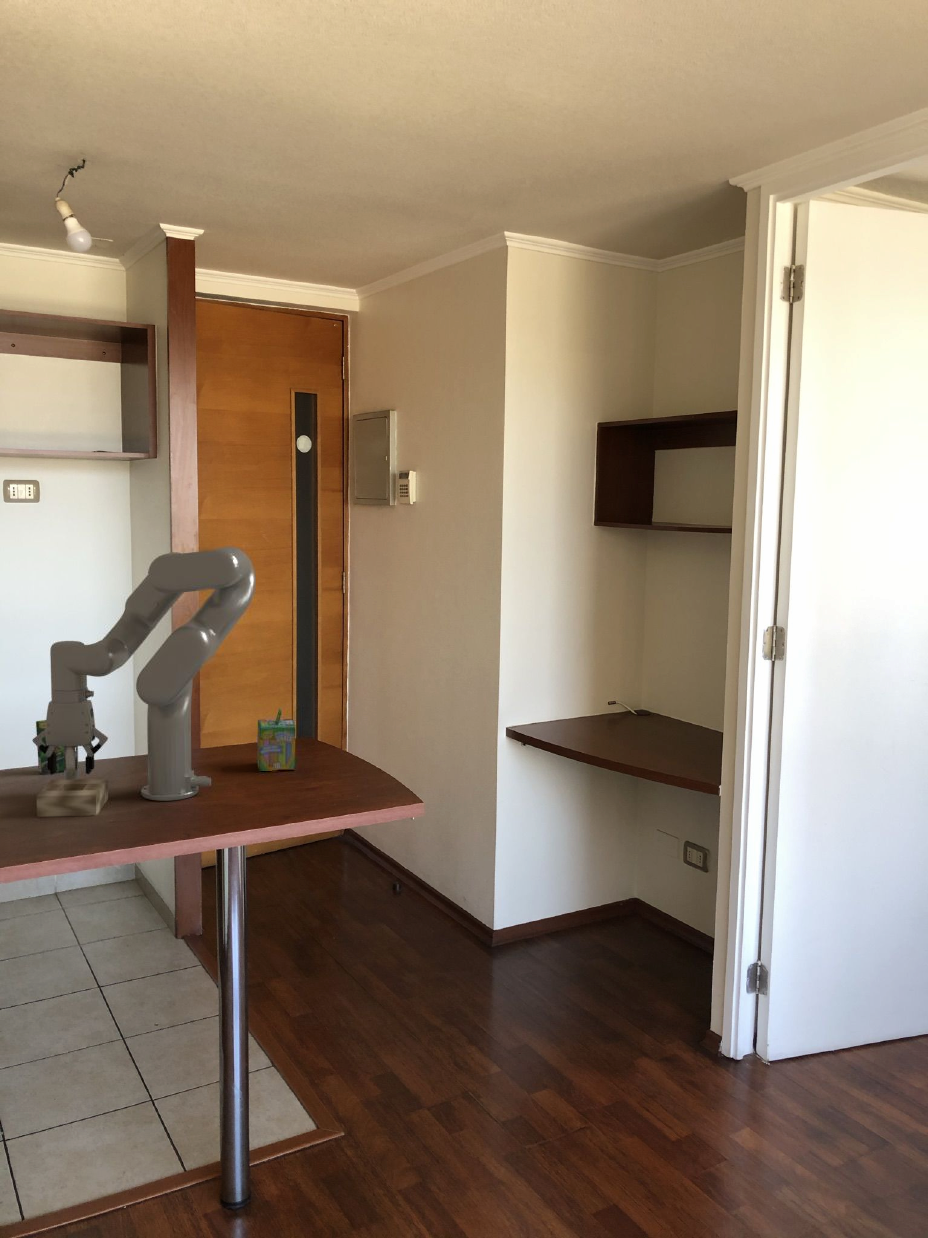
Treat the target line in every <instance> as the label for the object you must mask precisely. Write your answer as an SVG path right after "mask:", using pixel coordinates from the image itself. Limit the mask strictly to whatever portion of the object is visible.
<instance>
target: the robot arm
mask: <svg viewBox="0 0 928 1238" xmlns="http://www.w3.org/2000/svg"><path fill="white" fill-rule="evenodd" d="M256 581H257V580H256V573H255V568H254V566H253V563H252V561H251V559H250V558H249V556H248V555H247V553H245V552H244V551H243V550H241V549H240V548H237V547H235V546H224V547H220V548H215V549H207V550H203V551H202V550H201V551H193V552H192V551H191V552H183V553H181V552H174V551H173V552H168V553H164V554H161V555H159V556H157V557H156V558H155V559H153V560H152V562H151V563H150V565H149V568H148V572H147V575H146V577H145V578H144V579H142V581H141V582H140V583H139V585H138V586H137V587H136V588H135V589H134V590H133V592H131V594H130V595H129V596H128V597H127V599H126V601H125V604H124V610H123V613H122V615H121V616H120V618H119V619H118V621H117V622H116V623H115V624H114V626H113V627H112V628H111V629H110V630H109V631H108V632H107V633H106V634H105V636H104V637H103V638H102V639H100V640H99V641H97V642H94V643H91V644H84V643H83V642H82V641H79V640H63V641H62V640H61V641H56V642H54V643H52V645H51V647H50V648H49V649H50V652H49V653H50V657H49V658H50V659H49V660H50V687H51V688H50V690H51V691H50V693H51V694H50V695H51V700H50V701H49V702H48V705H47V711H46V718H45V720H46V729H45V730H44V731H42V732H41V733H40V734H39V735H37V734H36V736H35V737H33V738H32V742H33V744H34V746H36V748H37V747H38V748H39V749H40V750H41V751H42V752H43V753H44V754H45V756H46V757H47V761H48V770H50V775H52V776H53V775H54V774H55V772H56V771H57V755H56V754H55V750H56V748H57V746H78V747H82V748H83V749H84V751H85V753H86V756H85V774H86V775H90V774H91V773H92V771H93V770H95V755H96V753H98V752H99V750H100V749H101V748H102V747H103V746H104V745H105V744H106V742H108V739H109V737H108V736H106V734H104V733H102V731H100V730H98V729H97V728H96V723H95V713H94V707H93V703H92V702H93V701H92V700H90V699H89V698H93V697H94V696H95V695H94V694H95V691H94V690H89V687H88V677H89V676H90V677H94V678H95V677H96V678H98V677H99V678H101V677H105V676H108V675H110V674H111V673H113V672H115V671H116V670H118V669H120V668H121V667H123V666H124V665H125V664H126V663H127V662H128V661H129V659H131V657H132V656H133V655H134V654H135V653H136V651H137V650H138V649H139V648H140V647H141V645H142V644H143V643H144V642H145V640H146V639H147V638H148V636H149V635H150V634H151V633H152V632H153V630H154V629H155V628H156V627H157V626H158V624H159V623H160V622H161V620H162V619H163V618H164V617H165V615H166V614H167V613H168V612H169V610H170V609H171V608H172V607H173V606H174V605H175V604H176V602H178V600H179V599H180V598H181V596H183V594H184V593H189V592H190V593H191V592H197V591H198V592H199V591H208V590H209V591H210V590H213V591H212V592H211V594H210V595H209V596H208V597H206V599H205V600H204V602H203V603H202V605H201V606H200V607H199V609H198V610H197V611H196V612H195V614H194V615H193V616H192V617H191V618H190V619H189V620H188V621H187V622H186V623H184V624H183V625H181V626H179V627H178V628H176V629H175V630H174V631H172V633H171V634H170V635H168V637H167V638H166V640H164V642H163V643H162V645H160V647H159V648H158V649H157V651H156V652H155V653H154V654H153V656H152V657H151V658H150V659H149V661H148V662H147V663H146V665H144V666H143V668H142V669H141V671H140V673H138V676H137V678H136V683H135V689H136V692H137V695H138V697H139V699H140V700H141V701H142V702H143V703H144V704H146V705H147V711H146V713H147V714H146V715H147V717H146V719H147V721H146V722H147V723H146V724H147V725H146V726H147V729H146V731H147V732H146V733H147V735H146V738H147V741H146V742H147V783H148V784H146V785H145V786H143V787H142V788H141V791H140V794H141V796H142V797H143V798H144V799H146V800H150V801H161V802H166V801H168V802H169V801H178V800H183V799H188V798H191V797H193V796H195V795H197V794H198V793H199V787H200V786H201V787H211V786H212V778H211V777H208V776H207V775H199V776H197V775H196V774H195V769H192V745H191V744H192V737H191V734H192V733H191V732H192V730H191V729H192V727H191V726H192V720H191V719H192V716H191V715H192V697H193V696H192V694H193V678H194V677H195V676H196V675H197V673H198V672H199V671H200V669H201V668H202V667H203V666H204V665H205V664H206V662H208V661H209V660H210V659H211V658H212V657H213V656H214V655H215V654H216V652H217V650H218V648H219V647H220V646H221V644H222V643H223V641H225V639H226V638H227V636H228V635H229V634H230V633H231V631H232V630H233V629H234V628H235V626H236V625H237V623H238V622H239V620H240V619H241V618H242V617H243V616H244V614H245V613H246V611H247V609H249V606H250V605H251V602H252V600H253V598H254V595H255V591H256V584H257V583H256ZM44 737H45V739H46V743H47V744H48V745H50V746H49V747H48V746H47V745H46V744H44V743H43V741H42V738H44ZM96 738H97V739H98V742H97V743H96V744H95V745H94V744H93V743H92V742H93V741H95V740H96ZM56 773H57V772H56Z"/></svg>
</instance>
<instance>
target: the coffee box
mask: <svg viewBox="0 0 928 1238" xmlns="http://www.w3.org/2000/svg"><path fill="white" fill-rule="evenodd" d="M35 729H36V730H35V733H36V736H37V735H39V734H40V733H41V732H42V731H44V730H45V729H46V719H43V720H36V721H35ZM42 741H43V743H44V744H46V745H47V746H48V747H49V746H50V745H48V744H47V743H46V739H45V737H44V738H42ZM36 748H37V763H38V764H37V765H38V773H39V774H40V775H42V774H43V775H49V774H48V773H50V770H48V761H47V757H46V756H45V754H44V753H43V752H42V751H41V750H40V749H39V748H38V747H37V746H36ZM55 754H56V755H57V771H56V773H62V772H64V746H57V748H56V750H55Z"/></svg>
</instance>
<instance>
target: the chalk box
mask: <svg viewBox="0 0 928 1238" xmlns="http://www.w3.org/2000/svg"><path fill="white" fill-rule="evenodd" d="M281 715H282V709H281V708H280V707H279V708H278V712H277V715H276V718H271V719H267V718H266V719H265V718H264V719H258V720H257V749H256V751H257V752H256V763H257V767H258V768H257V769H258V772H259V771H271V772H273V771H272V770H278V769H295V770H296V724H295V721H294V719H293V718H281Z"/></svg>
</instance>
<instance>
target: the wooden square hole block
mask: <svg viewBox="0 0 928 1238" xmlns="http://www.w3.org/2000/svg"><path fill="white" fill-rule="evenodd" d="M108 799H109V779H108V778H87V779H80V778H79V779H76V780H65V779H51V780H50V781H49V782H48V783H47V785H45V787H44V788H42V790H40V792H39V793H38V794H37V795H36V817H37V818H38V817H39V818H40V817H41V818H43V817H45V818H46V817H83V816H84V817H85V816H87V817H88V816H89V817H91V816H92V815H93V816H97V815H98V814H99V813H100V812H101V809H102V808H103V807H104V805H105V804H106V802H108Z"/></svg>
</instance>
